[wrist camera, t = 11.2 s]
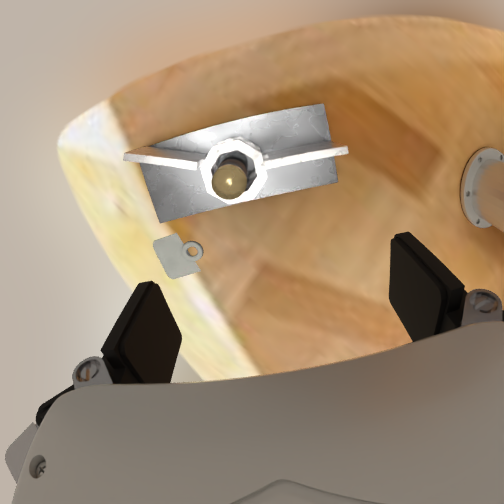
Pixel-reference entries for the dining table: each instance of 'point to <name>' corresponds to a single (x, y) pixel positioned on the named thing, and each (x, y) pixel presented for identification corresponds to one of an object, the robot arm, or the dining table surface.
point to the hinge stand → (267, 170)
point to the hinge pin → (231, 176)
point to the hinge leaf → (173, 157)
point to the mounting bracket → (177, 256)
